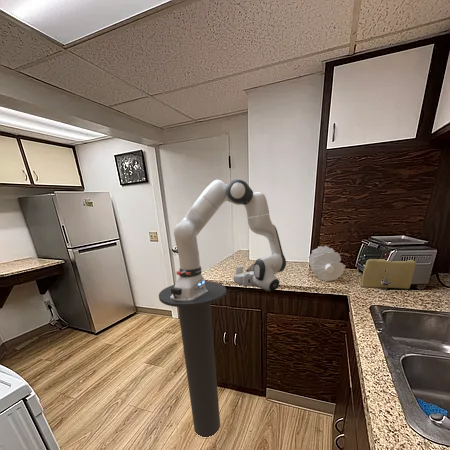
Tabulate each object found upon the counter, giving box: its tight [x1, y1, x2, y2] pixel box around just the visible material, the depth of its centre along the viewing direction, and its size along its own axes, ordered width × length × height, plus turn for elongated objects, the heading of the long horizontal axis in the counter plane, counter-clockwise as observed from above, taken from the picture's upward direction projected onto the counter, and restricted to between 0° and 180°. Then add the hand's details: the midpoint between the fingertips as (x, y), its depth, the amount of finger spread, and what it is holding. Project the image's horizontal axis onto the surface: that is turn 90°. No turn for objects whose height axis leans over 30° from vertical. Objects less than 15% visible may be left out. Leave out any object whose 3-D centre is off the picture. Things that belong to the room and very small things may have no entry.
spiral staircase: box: [308, 245, 346, 282], centre depth 151 cm, size 18×18×25 cm
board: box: [245, 262, 255, 273], centre depth 179 cm, size 20×20×2 cm
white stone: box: [234, 264, 244, 275], centre depth 156 cm, size 5×5×9 cm
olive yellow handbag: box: [360, 258, 417, 290], centre depth 130 cm, size 22×10×15 cm, turn 81°
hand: (242, 273), depth 153 cm, fingers open, 8 cm apart
